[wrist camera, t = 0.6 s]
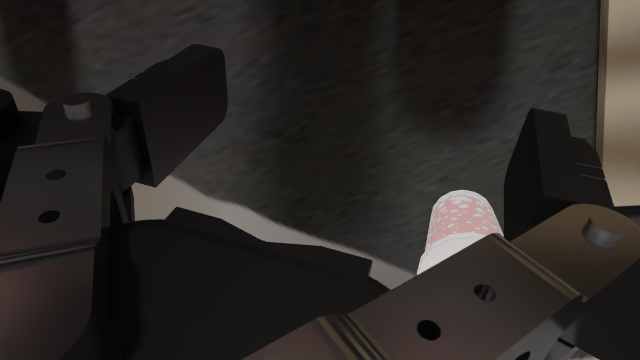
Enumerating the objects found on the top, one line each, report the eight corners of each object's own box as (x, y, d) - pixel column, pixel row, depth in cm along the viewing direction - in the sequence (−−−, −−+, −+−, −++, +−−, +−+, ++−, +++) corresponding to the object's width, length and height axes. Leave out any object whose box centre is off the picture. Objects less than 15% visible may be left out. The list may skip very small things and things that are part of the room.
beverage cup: (441, 168, 34) (442, 269, 22) (519, 199, 34) (569, 322, 21) (408, 234, 37) (393, 359, 24) (481, 264, 36) (504, 408, 24)
